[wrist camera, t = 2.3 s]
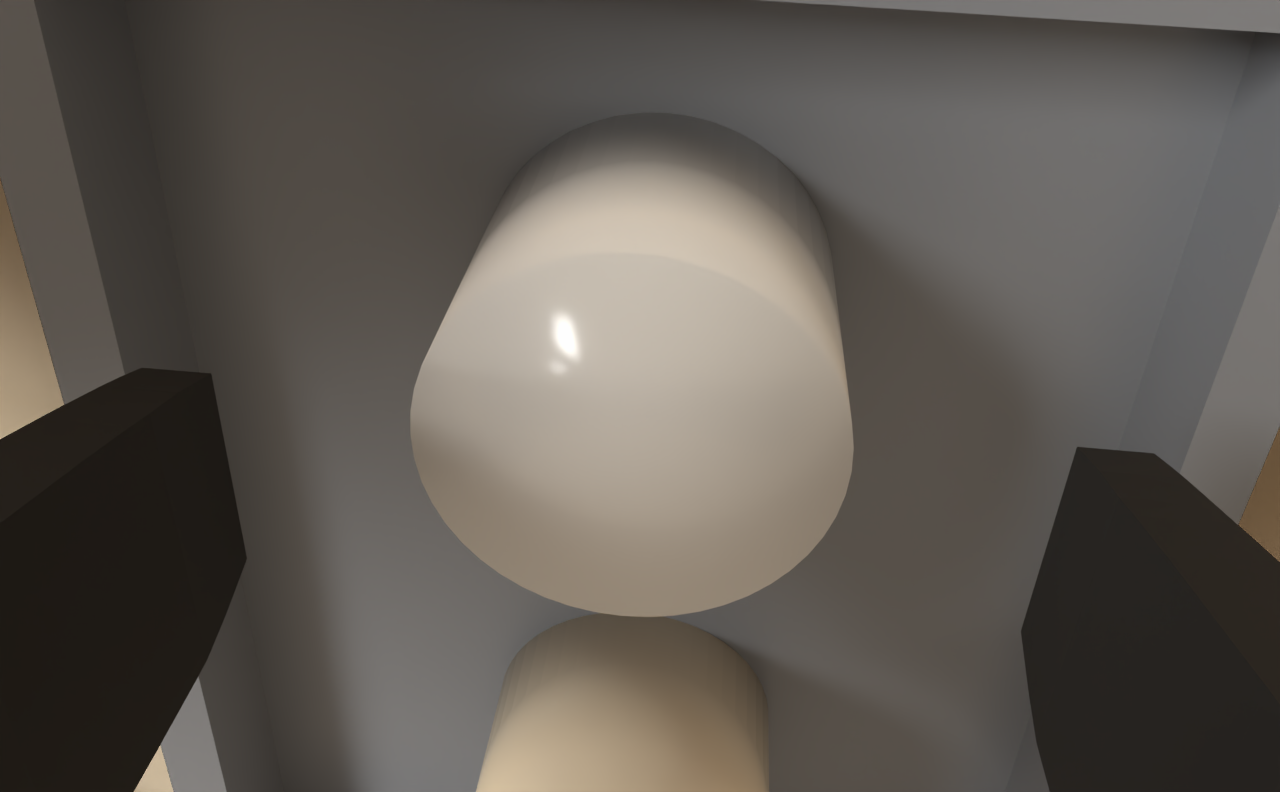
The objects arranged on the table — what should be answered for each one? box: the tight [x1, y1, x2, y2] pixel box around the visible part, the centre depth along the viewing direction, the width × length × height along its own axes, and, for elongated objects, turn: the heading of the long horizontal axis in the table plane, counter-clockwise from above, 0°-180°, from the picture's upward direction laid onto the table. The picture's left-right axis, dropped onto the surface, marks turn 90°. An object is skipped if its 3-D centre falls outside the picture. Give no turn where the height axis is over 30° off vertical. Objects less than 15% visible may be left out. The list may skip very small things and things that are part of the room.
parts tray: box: [0, 0, 1280, 792], centre depth 15 cm, size 16×13×2 cm
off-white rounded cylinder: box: [410, 113, 854, 617], centre depth 12 cm, size 4×4×3 cm
